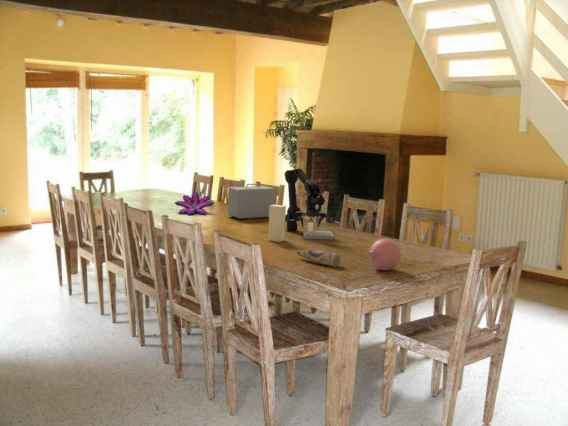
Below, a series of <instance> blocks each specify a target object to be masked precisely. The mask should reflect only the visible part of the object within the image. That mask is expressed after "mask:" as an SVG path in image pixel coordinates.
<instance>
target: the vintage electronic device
mask: <svg viewBox="0 0 568 426" xmlns="http://www.w3.org/2000/svg"><path fill="white" fill-rule="evenodd" d="M227 192H228V193H227V194H228V195H227V215H228V216H230V217H231V218H237V219H238V220H239V221H242V220H243V219H253V218H269V207H270V205H278V204H277V201H278V200H277V199H278V189H277V188H274V187H269V186H266V185H261V186H260V184H259V183H247V184H246V186H229V187H228V189H227Z"/></svg>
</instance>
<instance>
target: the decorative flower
mask: <svg viewBox="0 0 568 426" xmlns="http://www.w3.org/2000/svg"><path fill="white" fill-rule="evenodd" d="M182 199H183V200H177V201H174V204H175V205H176V206H179V207H182V209H180V210H179V211H178V215H185V214H187V215H189V216H191V215H194V214H199V215H201V216H206V215H207V213H208V212H207V211H206V209H204V208H207V207H212V206H213V205H214V204H215V202H214V201H209V200H210V199H211V198H210V195H205V196H203V197H200V193H199V192H198V191H194V192H193V193H192V194H191V196H189V195H184V194H183V196H182Z"/></svg>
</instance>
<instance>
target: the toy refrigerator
mask: <svg viewBox="0 0 568 426" xmlns="http://www.w3.org/2000/svg"><path fill="white" fill-rule="evenodd" d="M286 209H287V206H286V205H282V204H277V205H270V207H269V217H268V233H267V234H268V235H267V240H268V241H271V242H277V243H278V242H283V241H285V232H286V230H285V229H286V221H285V216H286V214H287V210H286Z"/></svg>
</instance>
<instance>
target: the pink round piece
mask: <svg viewBox="0 0 568 426" xmlns="http://www.w3.org/2000/svg"><path fill="white" fill-rule="evenodd" d="M366 255H367V256H368V258H369V261H370V263H371V264H372V266H373V267H374V268H376V269H378V270H380V271H391V270H393V269H395V268H396V267H397V266H398V264H399V263H400V262H401V258H402V253H401V248H400V246H399V245H398V244H397V242H395V241H394V240H392V239H389V238H381V239H378V240H376V241H375V242H373V243H372V245H371V246H370V248H369V251H368V252H367V253H366Z"/></svg>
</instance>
